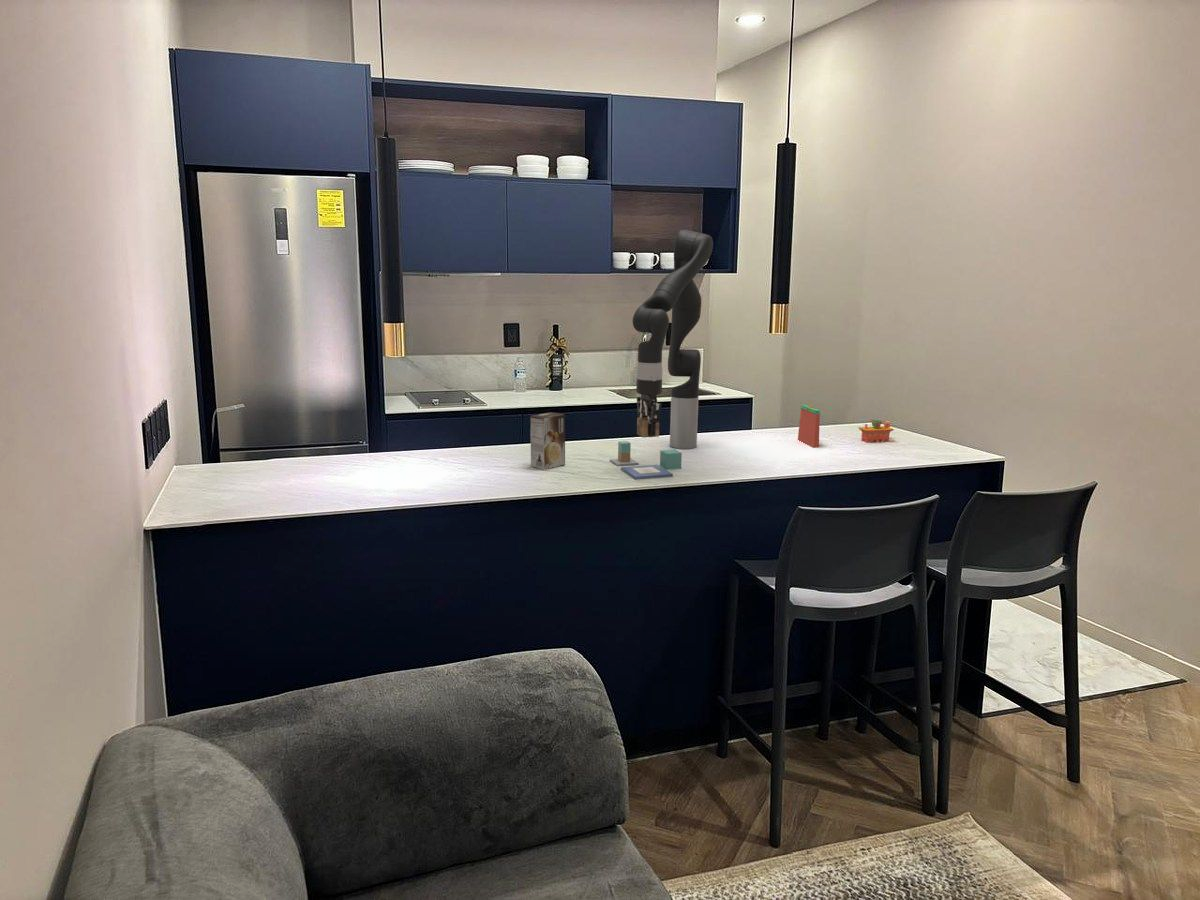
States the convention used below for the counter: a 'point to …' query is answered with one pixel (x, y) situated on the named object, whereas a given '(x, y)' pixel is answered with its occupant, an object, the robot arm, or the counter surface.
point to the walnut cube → (645, 428)
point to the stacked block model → (624, 455)
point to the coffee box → (547, 440)
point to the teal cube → (670, 459)
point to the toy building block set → (812, 421)
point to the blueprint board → (646, 471)
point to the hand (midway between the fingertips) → (648, 433)
